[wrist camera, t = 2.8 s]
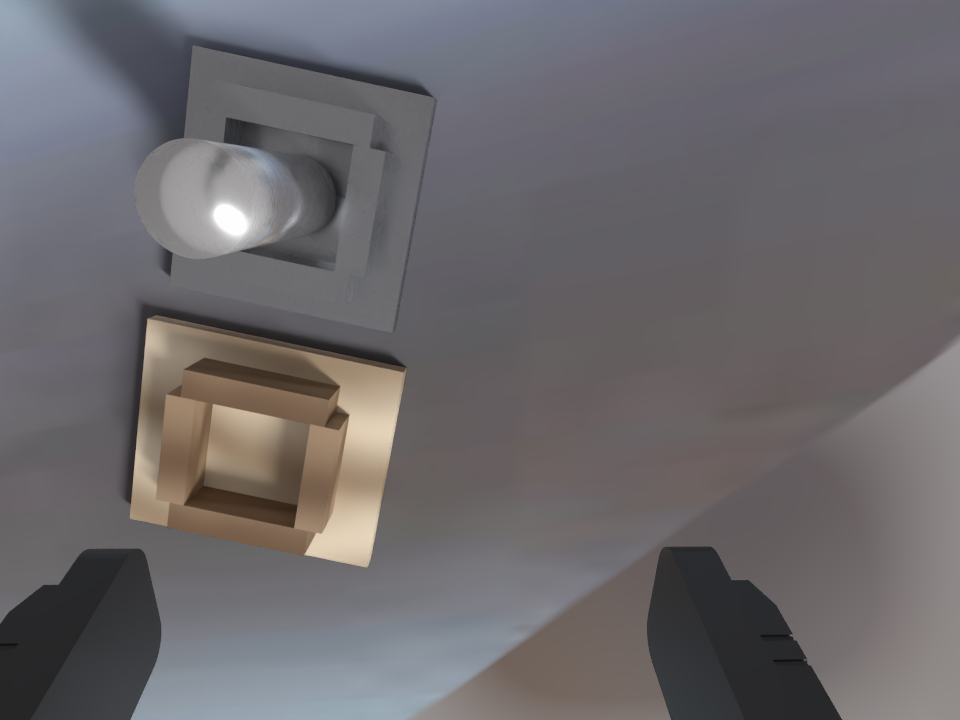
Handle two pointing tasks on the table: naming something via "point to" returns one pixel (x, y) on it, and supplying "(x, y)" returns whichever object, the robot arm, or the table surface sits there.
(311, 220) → the brushed steel cylinder
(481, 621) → the table surface
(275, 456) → the tan square frame base
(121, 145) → the table surface
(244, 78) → the socket block
